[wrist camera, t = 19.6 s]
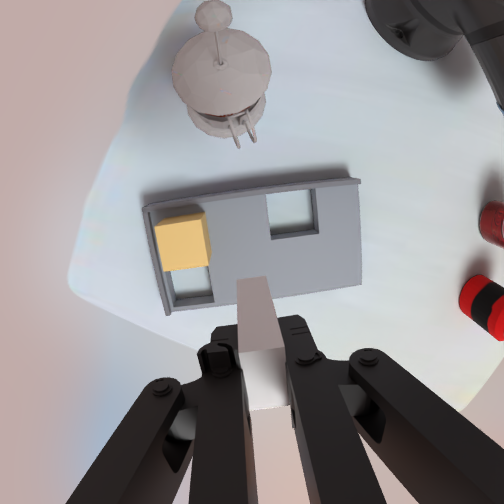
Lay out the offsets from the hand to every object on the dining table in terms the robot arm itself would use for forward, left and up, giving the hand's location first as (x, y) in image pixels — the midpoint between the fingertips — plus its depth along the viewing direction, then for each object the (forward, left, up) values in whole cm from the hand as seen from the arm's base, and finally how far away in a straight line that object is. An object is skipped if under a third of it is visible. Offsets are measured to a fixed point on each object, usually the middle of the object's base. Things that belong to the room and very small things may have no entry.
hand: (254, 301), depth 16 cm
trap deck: (+3, +2, -24) cm, 25 cm away
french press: (-14, 0, -25) cm, 28 cm away
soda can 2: (+18, +39, -25) cm, 49 cm away
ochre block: (+1, -7, -22) cm, 23 cm away
